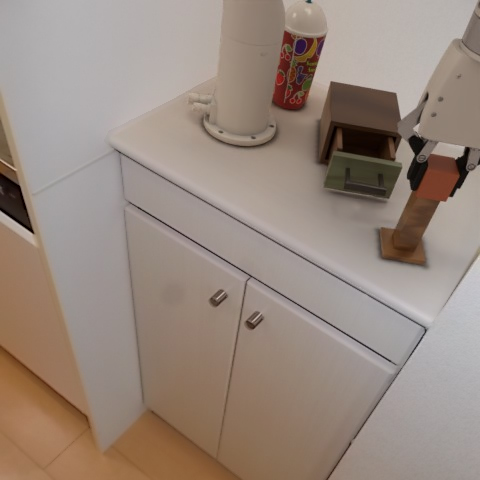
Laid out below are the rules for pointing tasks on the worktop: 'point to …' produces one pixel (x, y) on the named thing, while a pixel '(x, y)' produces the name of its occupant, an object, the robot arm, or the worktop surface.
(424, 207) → the stand
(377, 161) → the drawer
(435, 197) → the block
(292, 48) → the smoothie
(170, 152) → the worktop surface
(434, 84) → the robot arm
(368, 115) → the cabinet
